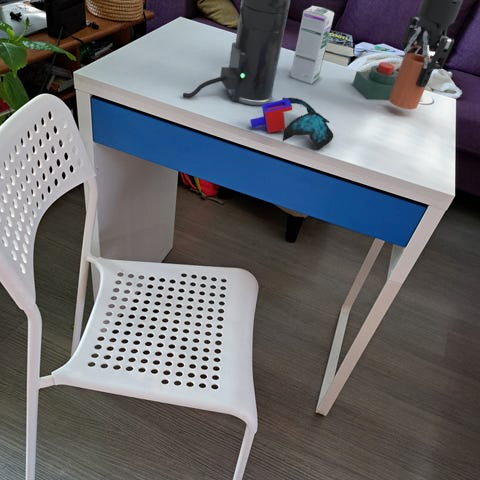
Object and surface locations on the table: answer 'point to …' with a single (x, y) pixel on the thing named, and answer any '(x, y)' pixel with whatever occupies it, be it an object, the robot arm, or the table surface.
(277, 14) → the robot arm
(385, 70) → the button
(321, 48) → the syrup box
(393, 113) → the table surface
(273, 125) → the toy building block
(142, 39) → the table surface
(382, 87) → the green button base
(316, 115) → the butterfly
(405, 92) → the jar
